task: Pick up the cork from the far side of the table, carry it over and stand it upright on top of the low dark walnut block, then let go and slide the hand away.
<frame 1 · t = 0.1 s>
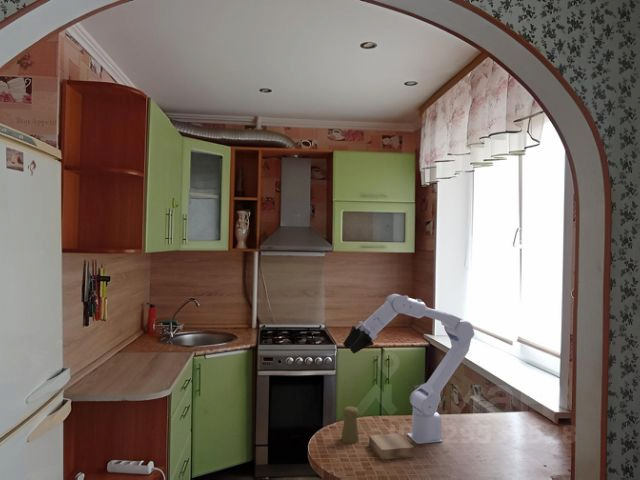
hand: (348, 348, 159), 32 cm above the table, tool tilted 50°, fingers open, 7 cm apart
walnut block: (390, 450, 156), on the table
cork: (350, 440, 163), on the table
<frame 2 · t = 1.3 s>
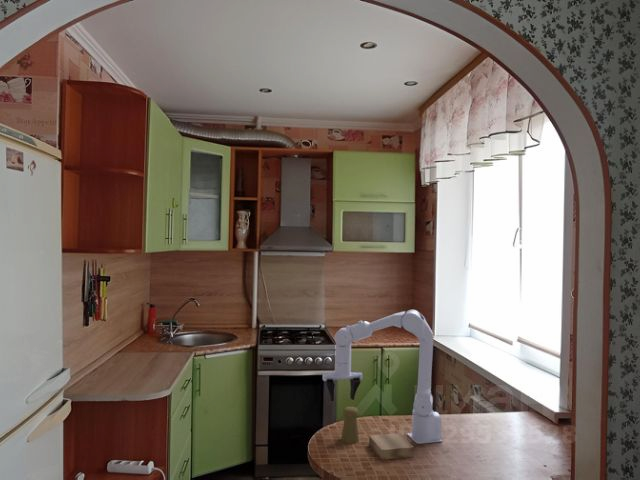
hand: (342, 399, 173), 10 cm above the table, tool pointing down, fingers open, 7 cm apart
nothing on the table moved.
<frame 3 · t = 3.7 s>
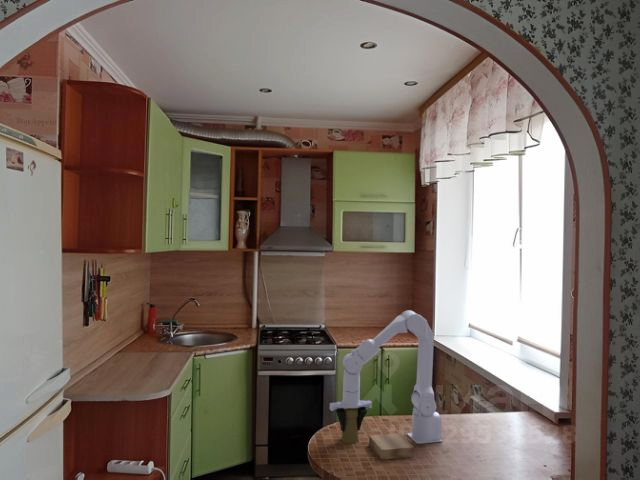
hand: (350, 429, 163), 3 cm above the table, tool pointing down, fingers closed on cork, 5 cm apart
cork: (350, 440, 163), on the table, touching gripper
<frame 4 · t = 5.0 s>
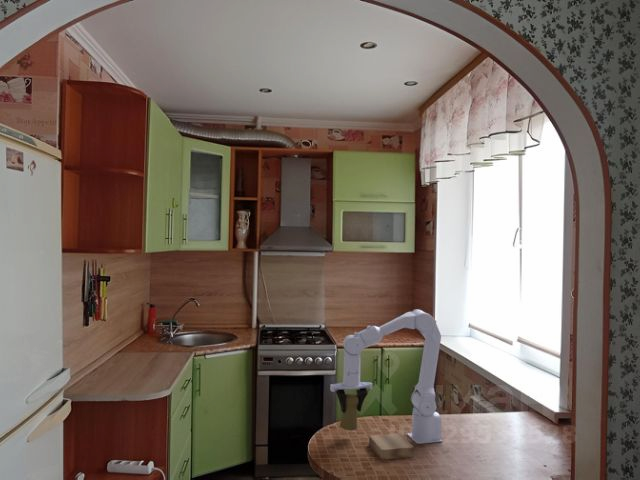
hand: (350, 411, 163), 10 cm above the table, tool pointing down, fingers closed on cork, 5 cm apart
cork: (348, 427, 163), point 4 cm above the table, touching gripper
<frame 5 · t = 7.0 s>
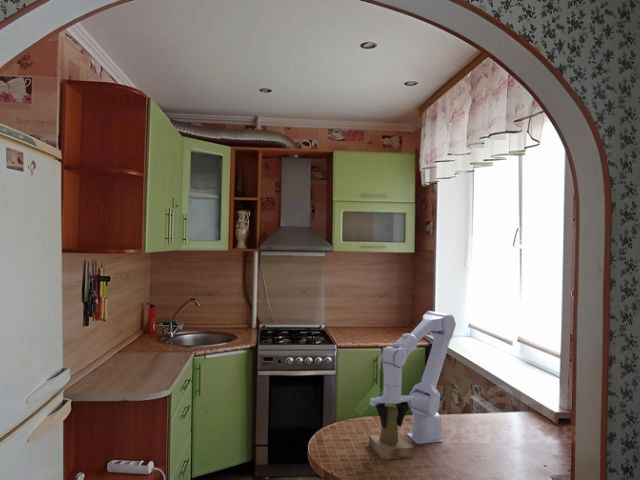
hand: (391, 426, 156), 8 cm above the table, tool pointing down, fingers closed on cork, 5 cm apart
cork: (389, 440, 157), point 3 cm above the table, touching gripper, walnut block
when the fingers open (8 cm above the table, at t = 7.3 s): cork stays where it is, resting on walnut block.
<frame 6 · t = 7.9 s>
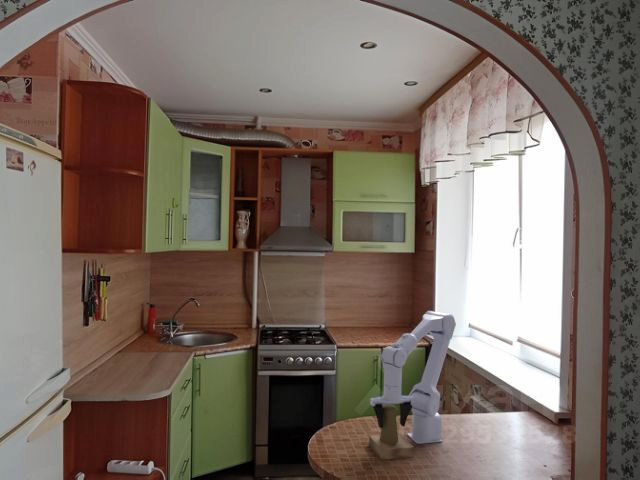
hand: (391, 426, 156), 8 cm above the table, tool pointing down, fingers open, 7 cm apart
cork: (389, 440, 157), point 3 cm above the table, touching walnut block
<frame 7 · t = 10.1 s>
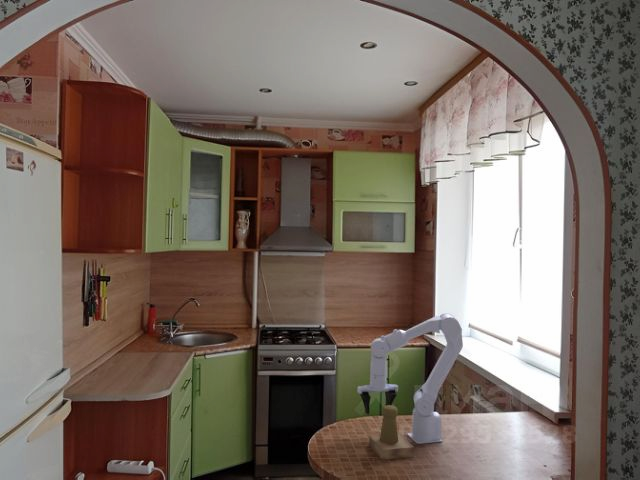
hand: (377, 412, 168), 8 cm above the table, tool pointing down, fingers open, 7 cm apart
nothing on the table moved.
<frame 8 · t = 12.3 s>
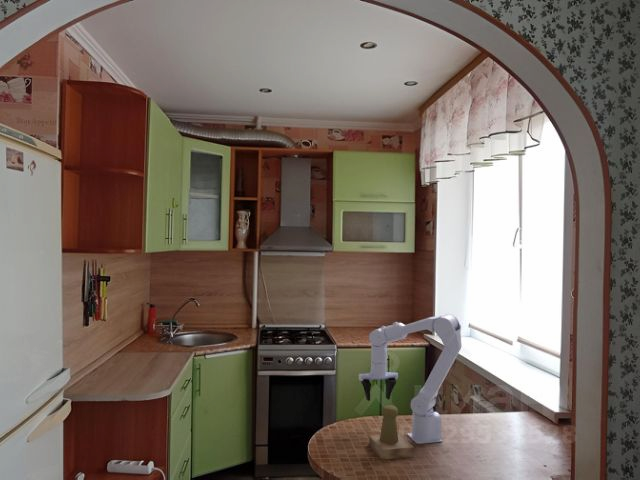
hand: (377, 399, 174), 10 cm above the table, tool pointing down, fingers open, 7 cm apart
nothing on the table moved.
at the end: cork inside the target area on the walnut block (1.0 cm from its centre), point 2.8 cm above the walnut block's base; cork tilted 0°; the gripper is holding nothing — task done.
